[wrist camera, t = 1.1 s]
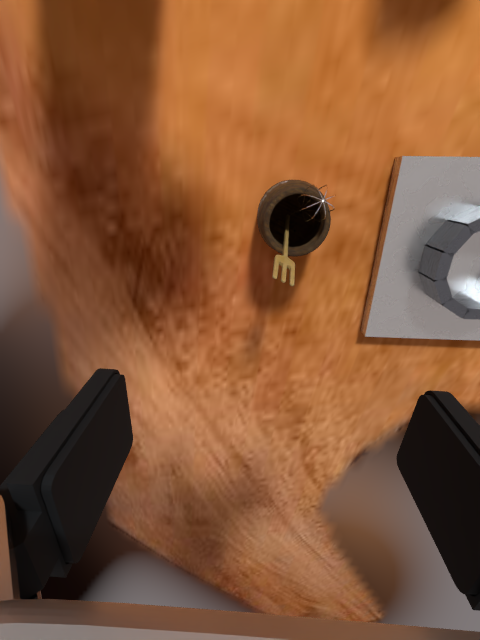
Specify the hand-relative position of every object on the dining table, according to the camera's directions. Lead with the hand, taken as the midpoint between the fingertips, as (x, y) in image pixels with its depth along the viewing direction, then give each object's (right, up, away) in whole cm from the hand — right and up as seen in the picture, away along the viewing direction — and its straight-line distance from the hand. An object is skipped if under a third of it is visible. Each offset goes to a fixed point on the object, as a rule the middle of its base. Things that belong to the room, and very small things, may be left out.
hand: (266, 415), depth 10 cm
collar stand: (+21, +9, +20) cm, 31 cm away
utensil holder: (+4, +13, +20) cm, 24 cm away
